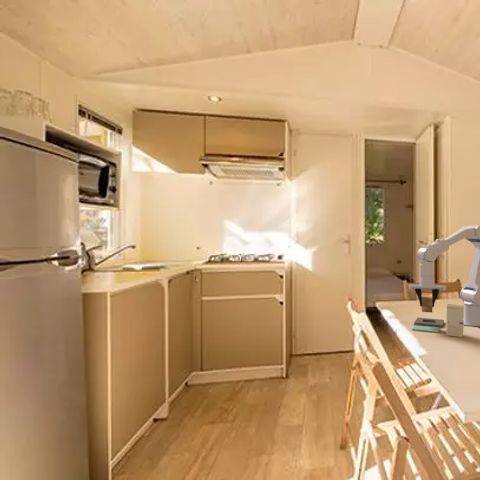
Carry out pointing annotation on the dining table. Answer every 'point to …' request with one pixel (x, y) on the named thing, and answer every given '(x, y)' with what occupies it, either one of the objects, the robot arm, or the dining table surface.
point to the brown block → (426, 304)
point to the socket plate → (429, 322)
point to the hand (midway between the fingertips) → (426, 306)
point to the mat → (426, 329)
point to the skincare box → (455, 320)
